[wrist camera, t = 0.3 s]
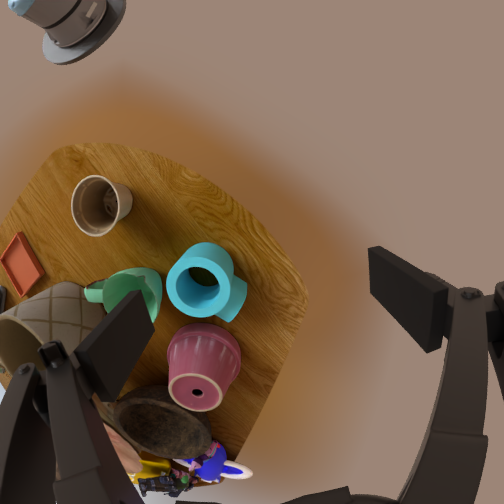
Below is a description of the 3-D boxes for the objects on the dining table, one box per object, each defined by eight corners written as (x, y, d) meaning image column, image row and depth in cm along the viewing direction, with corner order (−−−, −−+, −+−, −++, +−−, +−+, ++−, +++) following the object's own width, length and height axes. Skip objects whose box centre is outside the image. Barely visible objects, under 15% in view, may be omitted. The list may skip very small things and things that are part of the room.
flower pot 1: (89, 210, 46) (63, 217, 38) (109, 165, 44) (84, 164, 36) (127, 236, 47) (105, 247, 39) (150, 190, 45) (129, 193, 37)
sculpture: (52, 412, 53) (22, 441, 37) (100, 398, 51) (66, 437, 35) (106, 472, 55) (86, 505, 39) (163, 468, 52) (146, 511, 37)
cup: (256, 270, 49) (257, 290, 40) (227, 310, 51) (222, 336, 42) (198, 231, 47) (186, 243, 38) (171, 275, 49) (155, 294, 40)
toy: (163, 486, 47) (193, 451, 60) (176, 495, 46) (206, 459, 60) (177, 473, 41) (213, 431, 55) (193, 484, 40) (227, 440, 54)
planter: (53, 259, 48) (-10, 292, 29) (124, 303, 51) (73, 360, 31) (43, 325, 52) (-4, 367, 33) (105, 366, 55) (67, 423, 35)
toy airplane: (262, 463, 54) (264, 448, 59) (165, 434, 56) (172, 421, 61) (241, 496, 60) (243, 484, 65) (162, 473, 62) (167, 461, 67)
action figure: (140, 484, 47) (205, 473, 56) (133, 465, 52) (196, 455, 62) (146, 508, 51) (199, 498, 61) (139, 492, 57) (191, 483, 66)
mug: (172, 255, 48) (154, 273, 38) (176, 306, 51) (161, 333, 41) (101, 253, 48) (74, 269, 38) (108, 300, 51) (84, 323, 41)
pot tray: (4, 257, 48) (-1, 259, 46) (21, 231, 47) (16, 233, 45) (25, 295, 51) (21, 298, 49) (45, 272, 49) (40, 275, 47)
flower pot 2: (176, 344, 38) (192, 307, 51) (140, 394, 41) (159, 355, 54) (256, 388, 40) (255, 346, 53) (210, 430, 43) (217, 388, 56)
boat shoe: (61, 389, 52) (79, 373, 59) (129, 456, 53) (143, 437, 61) (68, 381, 48) (88, 364, 56) (143, 455, 50) (158, 434, 57)
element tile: (161, 478, 64) (163, 489, 60) (117, 470, 59) (117, 481, 55) (171, 455, 64) (173, 466, 59) (121, 445, 58) (121, 457, 54)
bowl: (193, 360, 54) (184, 392, 44) (229, 425, 59) (226, 456, 49) (111, 373, 55) (94, 399, 45) (153, 432, 60) (144, 459, 51)
